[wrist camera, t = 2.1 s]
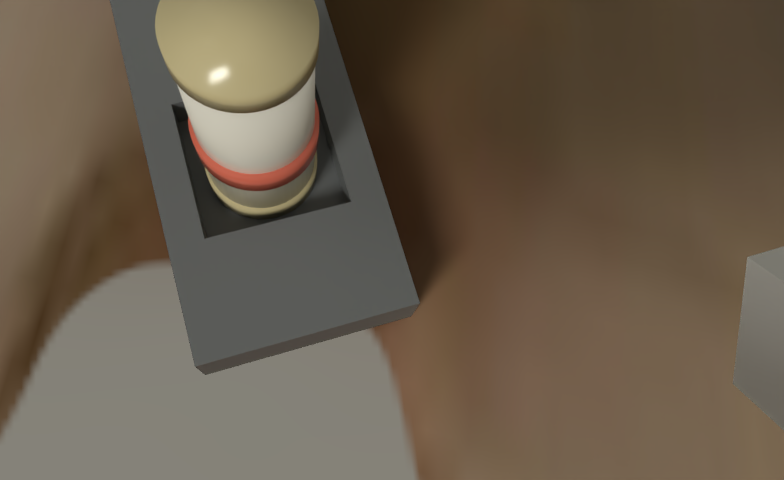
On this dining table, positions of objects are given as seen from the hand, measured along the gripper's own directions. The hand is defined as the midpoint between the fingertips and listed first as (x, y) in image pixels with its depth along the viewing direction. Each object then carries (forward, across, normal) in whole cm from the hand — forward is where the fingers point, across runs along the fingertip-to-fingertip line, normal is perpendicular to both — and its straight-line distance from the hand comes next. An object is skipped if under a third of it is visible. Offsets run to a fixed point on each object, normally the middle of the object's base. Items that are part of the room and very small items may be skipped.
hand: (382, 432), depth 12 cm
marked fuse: (+18, 0, -3) cm, 19 cm away
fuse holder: (+23, 0, 0) cm, 23 cm away
